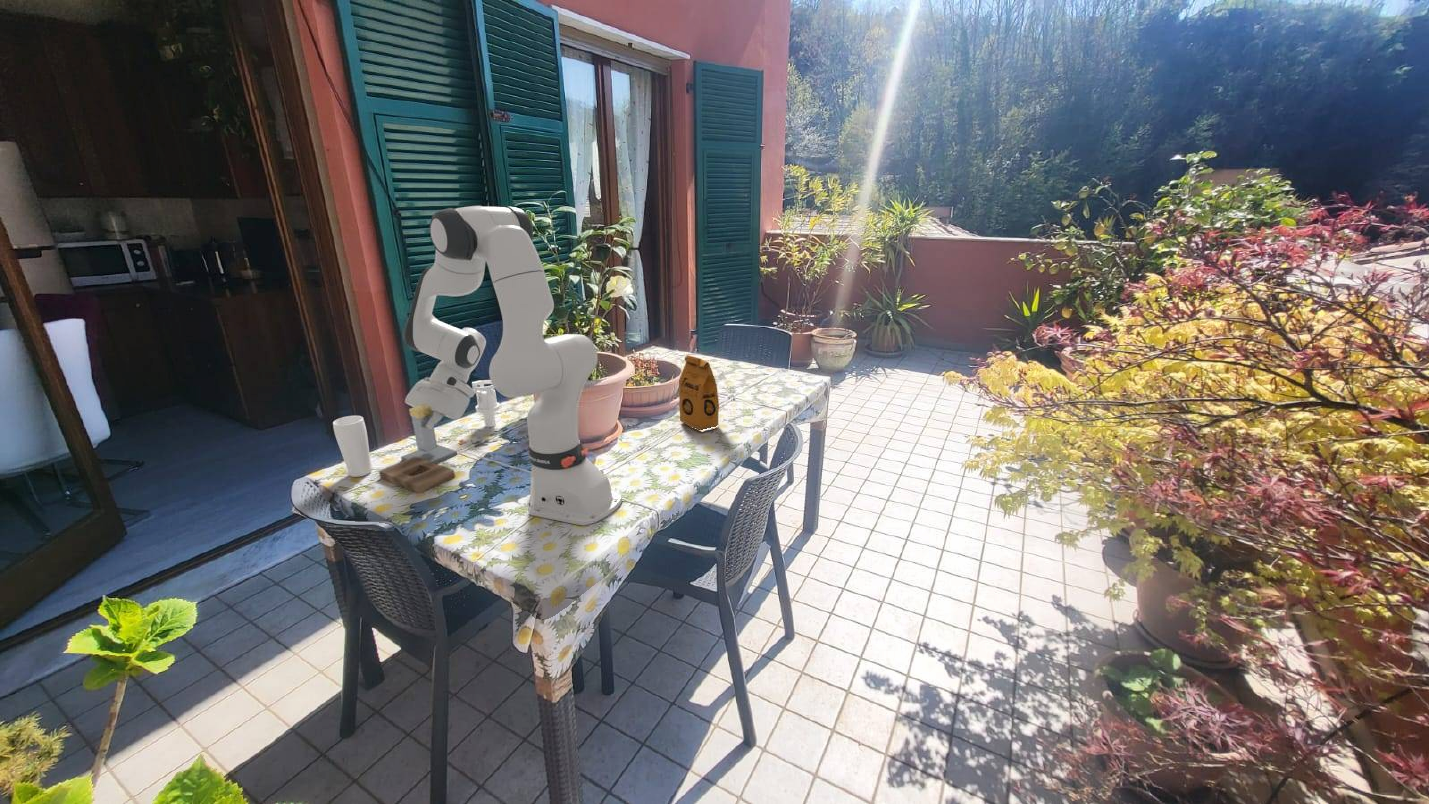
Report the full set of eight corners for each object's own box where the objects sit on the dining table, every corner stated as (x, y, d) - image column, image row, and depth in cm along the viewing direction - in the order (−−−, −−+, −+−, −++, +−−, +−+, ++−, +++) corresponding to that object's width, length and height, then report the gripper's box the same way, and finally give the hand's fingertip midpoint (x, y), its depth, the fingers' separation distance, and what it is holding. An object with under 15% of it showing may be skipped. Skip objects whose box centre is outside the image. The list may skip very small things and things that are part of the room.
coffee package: (697, 435, 172) (697, 366, 164) (675, 423, 181) (674, 356, 173) (723, 428, 177) (724, 360, 169) (701, 416, 186) (701, 351, 179)
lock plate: (454, 476, 147) (453, 470, 146) (419, 493, 138) (417, 486, 138) (416, 462, 154) (415, 456, 153) (380, 478, 146) (378, 471, 145)
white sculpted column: (475, 424, 179) (468, 379, 174) (498, 419, 183) (492, 375, 178) (482, 431, 174) (475, 385, 169) (505, 426, 178) (499, 380, 173)
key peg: (438, 447, 157) (430, 407, 153) (425, 452, 154) (417, 411, 150) (429, 444, 159) (422, 404, 154) (417, 449, 156) (409, 408, 151)
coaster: (457, 454, 159) (456, 451, 159) (424, 468, 151) (423, 465, 150) (434, 446, 164) (433, 443, 163) (401, 460, 155) (400, 456, 155)
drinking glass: (340, 475, 147) (326, 422, 142) (365, 465, 153) (353, 413, 147) (355, 481, 144) (342, 427, 139) (381, 470, 150) (369, 418, 144)
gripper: (415, 370, 160) (388, 414, 156) (463, 382, 151) (436, 429, 146) (432, 381, 165) (406, 423, 161) (479, 393, 156) (454, 438, 151)
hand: (421, 426), depth 153 cm, fingers closed on key peg, 3 cm apart
